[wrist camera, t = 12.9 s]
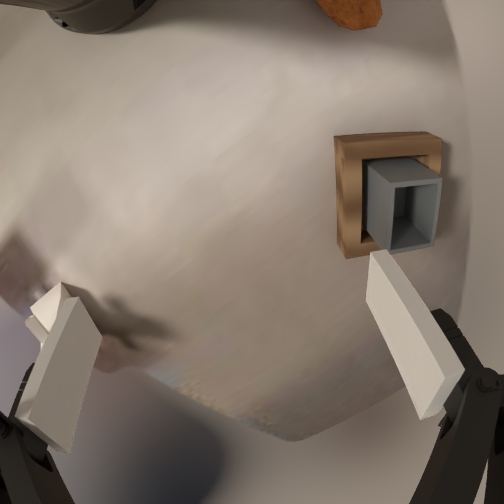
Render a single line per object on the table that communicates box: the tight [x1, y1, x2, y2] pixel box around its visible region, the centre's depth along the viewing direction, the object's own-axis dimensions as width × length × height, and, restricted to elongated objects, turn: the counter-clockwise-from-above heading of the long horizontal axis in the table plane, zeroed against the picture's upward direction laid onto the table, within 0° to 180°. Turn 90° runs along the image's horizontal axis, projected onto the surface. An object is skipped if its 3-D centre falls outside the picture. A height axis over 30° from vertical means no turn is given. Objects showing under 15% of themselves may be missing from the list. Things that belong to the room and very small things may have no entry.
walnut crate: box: [334, 132, 442, 259], centre depth 38 cm, size 15×14×4 cm
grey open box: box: [362, 157, 443, 255], centre depth 36 cm, size 9×7×8 cm
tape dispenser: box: [25, 282, 72, 349], centre depth 42 cm, size 8×14×14 cm, turn 18°
